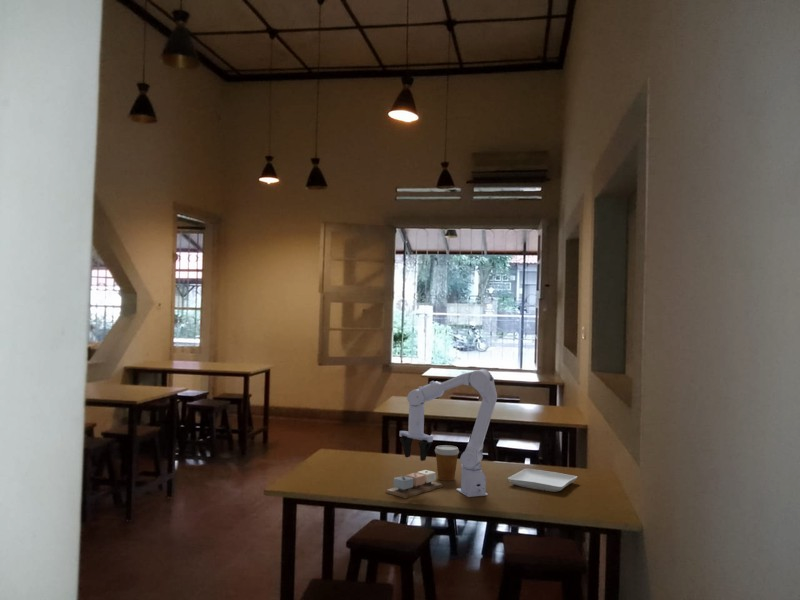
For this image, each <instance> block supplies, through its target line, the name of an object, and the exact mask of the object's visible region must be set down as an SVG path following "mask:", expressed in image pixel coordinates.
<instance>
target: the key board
mask: <svg viewBox="0 0 800 600" xmlns="http://www.w3.org/2000/svg"><path fill="white" fill-rule="evenodd" d="M442 487H443V483H440V482H437V481H432V482H429V483H426V482H425V484H422V485H418V486H413V487H411V488H408V489H405V490H404V489H400V488H396V487H390V488H388V489H386V491H385V493H387V494H390V495H394V496H398V497H401V498H405V499H406V498H410V497H414V496H417V495H420V494H423V493H427V492H429V491H430V492H431V491H433V490H436V489H440V488H442Z"/></svg>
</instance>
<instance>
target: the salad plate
mask: <svg viewBox="0 0 800 600" xmlns="http://www.w3.org/2000/svg"><path fill="white" fill-rule="evenodd" d="M577 478H578V476H577V475H572V474H565V473H561V472H557V471H556V472H555V471H548V470H543V469H534V468H523V469H522V470H520V471H518V472H516V473H515V474H513V475H510V476H509V477H507V480H508V482H510V483H511V484H513V485H516V486H518V487H523V488H527V489H533V490H534V489H535V490H539V491H540V490H541V491H544V490H545V492H553V493H556V492H559V491H562V490H563V489H565V487H567V486H569V485H570V484H572V483H573V482H575V481H576V480H577Z"/></svg>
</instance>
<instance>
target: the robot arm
mask: <svg viewBox="0 0 800 600" xmlns="http://www.w3.org/2000/svg"><path fill="white" fill-rule="evenodd" d="M461 385H465V386H472V388H473V389H475V390H476V391H477V392H478V393H479V395H480V396H481V399H482V400H481V403H480V406H479V409H478V412H477V416H476V419H475V423H474V426H473V428H472V431H471V436H470V439H469V441H468V442H467V445H466V448H465V450H464V451H463V452H462V453H461V455H460V458H459V460H460V464H461V465H460V466H461V468H460V469H461V471H460V476H461V478H460V488H456V489H455V490H456V491H457V492H459V493H461V494H462V495H464V496H466V497H468V498H471V497H472V498H473V497H483V496H488V495H489V494H488V493H487V491H486V490H487V487H486V486H487V477H486V474H485V473H484V472H483V470H482V464H481V462H482V460H483V457H484V455H483V454H484V453H483V449H484V442H485V438H486V435H487V432H488V429H489V426H490V422H491V419H492V415H493V413H494V409H495V406H496V403H497V400H498V392H497V389H496V385H495V379H494V377H493V375H492V373H491V372H490V371H489V370H488V369H486V368H481V369H477V370H472V371H468V372H465V373H462V374H459V375H457V376H455V377H453V378H450V379H448V380H444V381H443V382H441V381H437V380H436V381H434V380H431V381H429V383H428V384H426V385H423V386H422V385H420V386H418V388H417V389H416V388H415V389H412V390H411V391H409V392H408V394H407V397H406V399H407V403H408V404H409V405H408V407H409V408H408V431H407V430H399V437H400V438H399V442H400V444H401V445H402V449H403V453H404V457H405V458H410V457H411V453H412V443H413V440H419V441H418V446H419V454H420V455H419V460H420V461H421V462H423V461H427V460H426V459H427V456H428V452H429V450H430V447H431V446H432V445H433V441H434V436H433V435H429V434H426V433H424V431H425V429H424V428H425V425H424V424H425V403H426V402H430V401H433V400H435V399H437V398H440V397H442V396H443V395H444V393H445V391H448V390H450V389H454V388H455V387H458V386H461Z"/></svg>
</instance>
